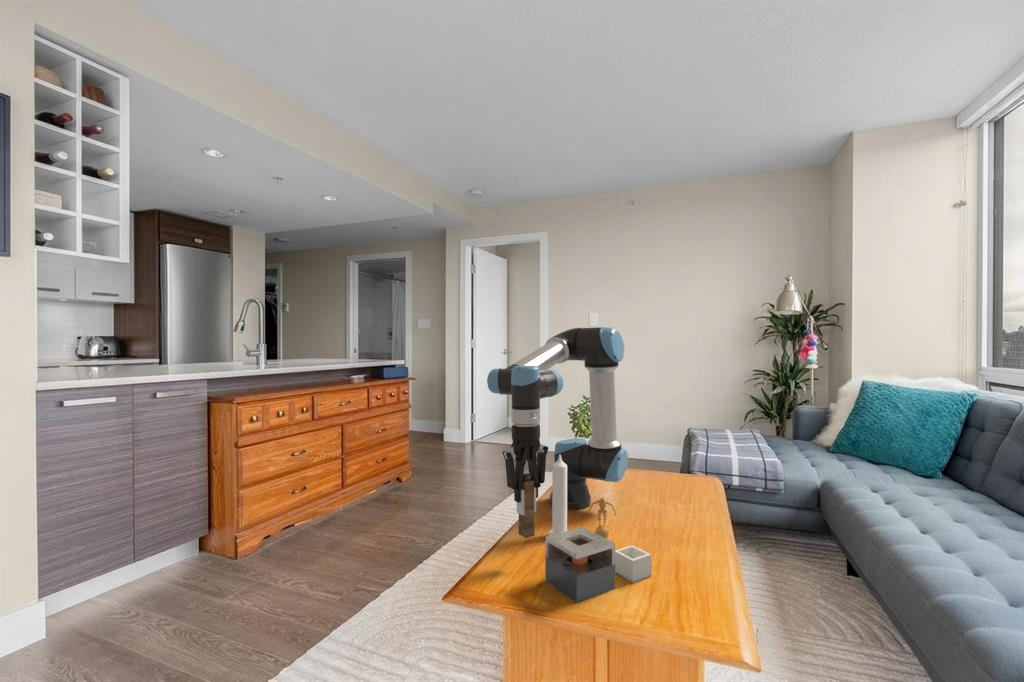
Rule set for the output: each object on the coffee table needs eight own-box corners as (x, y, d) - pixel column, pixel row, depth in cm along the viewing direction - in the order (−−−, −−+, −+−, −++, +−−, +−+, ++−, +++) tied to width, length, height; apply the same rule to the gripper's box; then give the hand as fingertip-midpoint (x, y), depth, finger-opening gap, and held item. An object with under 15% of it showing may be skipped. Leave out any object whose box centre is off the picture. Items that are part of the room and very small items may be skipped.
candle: (543, 536, 146) (543, 454, 146) (557, 529, 152) (557, 450, 152) (561, 542, 142) (562, 458, 142) (575, 535, 147) (576, 454, 147)
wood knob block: (518, 534, 128) (518, 474, 127) (528, 531, 129) (527, 472, 129) (525, 538, 125) (524, 477, 125) (534, 535, 127) (534, 475, 126)
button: (568, 571, 118) (568, 546, 118) (580, 567, 120) (580, 543, 120) (578, 578, 114) (578, 552, 114) (591, 573, 116) (591, 549, 116)
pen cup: (613, 572, 124) (613, 550, 124) (632, 565, 127) (632, 545, 127) (632, 583, 118) (632, 560, 118) (651, 576, 122) (651, 554, 122)
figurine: (587, 540, 143) (587, 500, 143) (589, 532, 149) (589, 494, 149) (615, 543, 141) (615, 502, 141) (616, 535, 147) (616, 496, 147)
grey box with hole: (545, 580, 119) (545, 536, 119) (582, 568, 125) (582, 526, 125) (576, 603, 109) (576, 554, 109) (615, 588, 115) (615, 543, 115)
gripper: (507, 429, 119) (508, 523, 120) (558, 423, 128) (559, 510, 128) (492, 425, 126) (493, 513, 126) (542, 418, 134) (542, 502, 134)
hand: (526, 511), depth 127 cm, fingers closed on wood knob block, 3 cm apart
